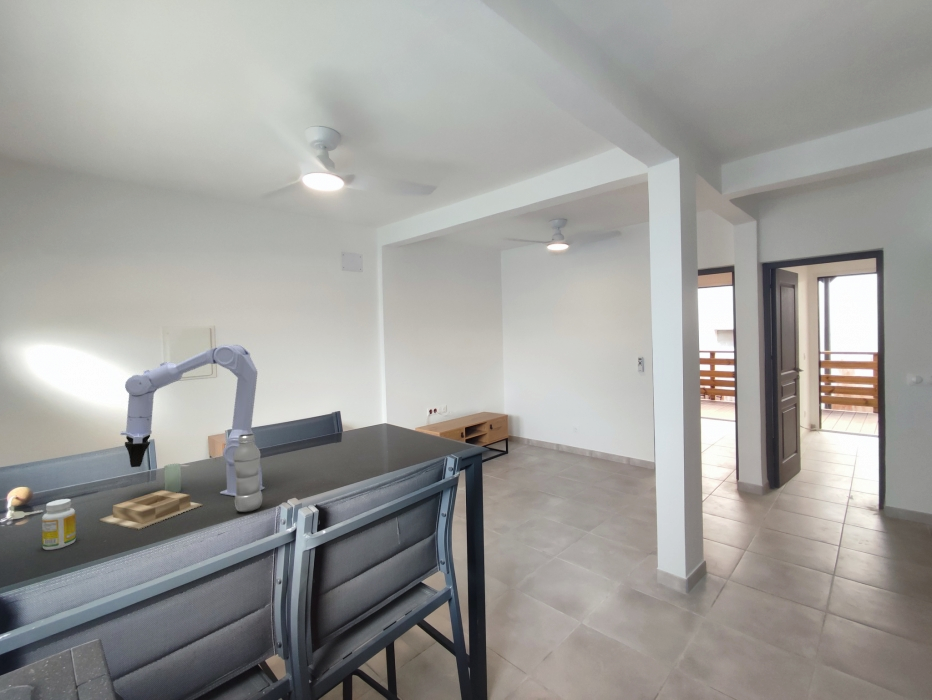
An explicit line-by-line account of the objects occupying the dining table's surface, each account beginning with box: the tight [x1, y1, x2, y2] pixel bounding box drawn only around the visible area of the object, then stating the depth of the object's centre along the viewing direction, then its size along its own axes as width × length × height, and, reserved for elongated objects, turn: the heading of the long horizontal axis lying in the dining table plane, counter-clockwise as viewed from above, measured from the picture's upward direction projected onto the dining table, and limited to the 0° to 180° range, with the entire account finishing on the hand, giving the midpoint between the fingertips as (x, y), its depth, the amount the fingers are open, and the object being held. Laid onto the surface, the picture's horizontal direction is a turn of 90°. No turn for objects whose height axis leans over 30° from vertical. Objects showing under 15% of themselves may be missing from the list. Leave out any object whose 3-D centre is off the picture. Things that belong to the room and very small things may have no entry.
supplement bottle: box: [41, 498, 77, 551], centre depth 95 cm, size 5×5×10 cm
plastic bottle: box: [233, 433, 263, 513], centre depth 112 cm, size 6×7×20 cm
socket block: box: [98, 489, 204, 531], centre depth 112 cm, size 16×16×3 cm
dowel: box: [163, 463, 182, 493], centre depth 128 cm, size 4×4×8 cm
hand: (136, 463), depth 122 cm, fingers open, 7 cm apart
